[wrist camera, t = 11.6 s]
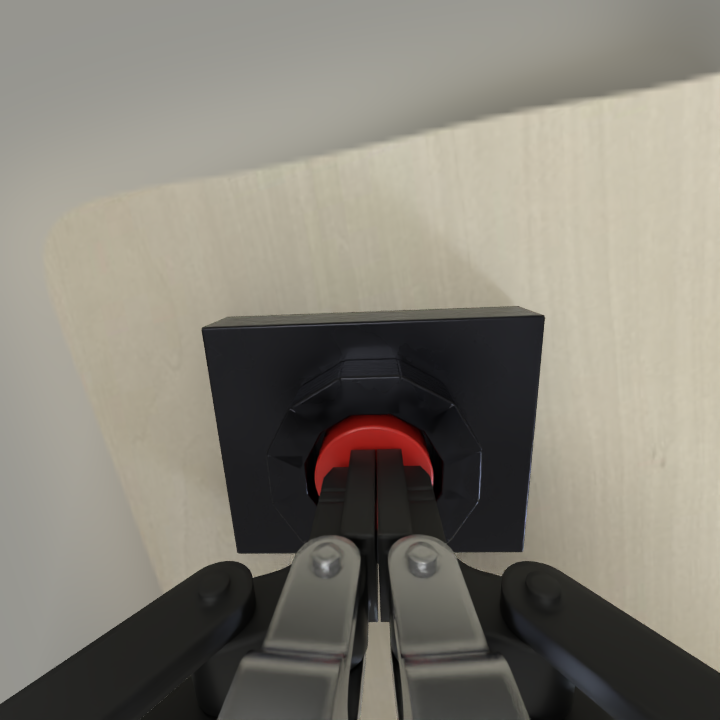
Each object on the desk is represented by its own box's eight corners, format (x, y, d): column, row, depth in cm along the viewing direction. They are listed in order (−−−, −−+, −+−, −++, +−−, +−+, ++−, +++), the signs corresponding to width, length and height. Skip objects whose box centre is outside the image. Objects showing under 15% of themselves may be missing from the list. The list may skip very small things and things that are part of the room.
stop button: (325, 496, 13) (318, 531, 12) (318, 404, 12) (309, 427, 11) (426, 495, 13) (433, 530, 12) (426, 401, 12) (434, 424, 11)
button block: (254, 516, 17) (218, 595, 13) (225, 316, 14) (170, 339, 10) (504, 513, 16) (545, 595, 12) (519, 305, 14) (576, 325, 10)
